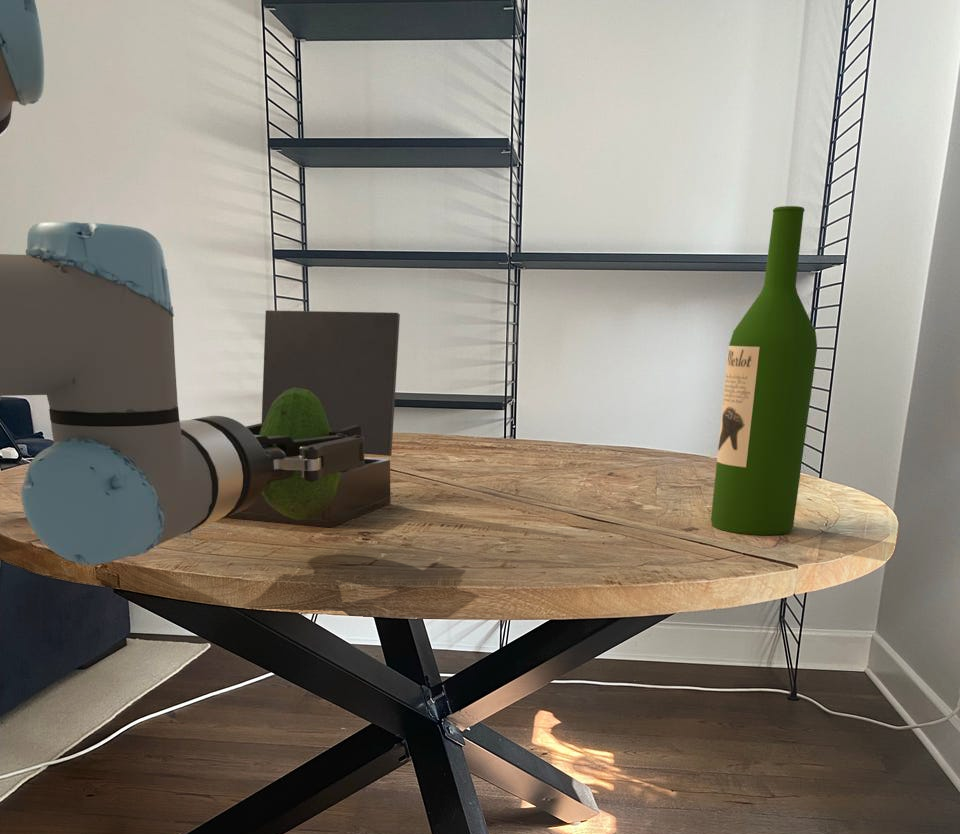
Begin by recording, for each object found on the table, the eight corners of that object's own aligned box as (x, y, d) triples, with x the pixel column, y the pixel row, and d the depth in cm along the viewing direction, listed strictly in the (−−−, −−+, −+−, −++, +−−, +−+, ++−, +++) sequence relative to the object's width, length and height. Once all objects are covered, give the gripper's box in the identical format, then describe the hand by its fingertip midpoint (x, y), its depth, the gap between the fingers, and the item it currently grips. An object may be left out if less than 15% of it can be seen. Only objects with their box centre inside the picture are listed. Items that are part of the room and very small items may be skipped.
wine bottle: (693, 522, 104) (724, 208, 93) (752, 516, 108) (788, 215, 97) (748, 538, 96) (789, 199, 86) (810, 531, 100) (856, 206, 90)
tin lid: (397, 312, 106) (400, 313, 107) (265, 310, 111) (268, 311, 112) (388, 455, 109) (391, 455, 109) (260, 446, 114) (263, 447, 115)
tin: (330, 527, 97) (328, 477, 95) (190, 514, 102) (186, 466, 100) (390, 503, 111) (390, 459, 109) (264, 492, 116) (262, 450, 114)
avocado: (347, 511, 90) (344, 385, 86) (334, 528, 82) (330, 391, 78) (266, 509, 90) (259, 383, 86) (246, 526, 82) (238, 389, 78)
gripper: (80, 512, 70) (219, 470, 91) (333, 531, 66) (418, 482, 87) (68, 413, 68) (214, 393, 89) (330, 426, 64) (418, 402, 85)
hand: (315, 437), depth 88 cm, fingers closed on avocado, 8 cm apart
